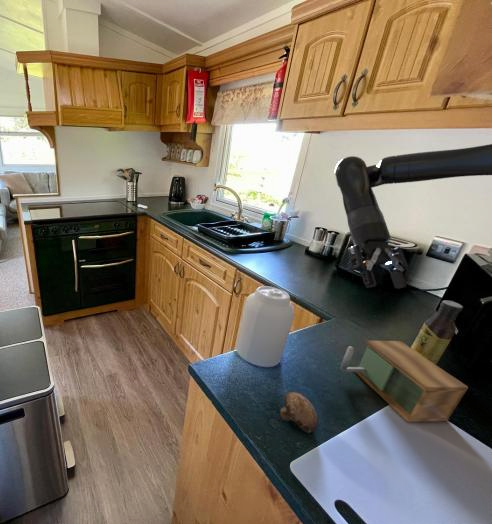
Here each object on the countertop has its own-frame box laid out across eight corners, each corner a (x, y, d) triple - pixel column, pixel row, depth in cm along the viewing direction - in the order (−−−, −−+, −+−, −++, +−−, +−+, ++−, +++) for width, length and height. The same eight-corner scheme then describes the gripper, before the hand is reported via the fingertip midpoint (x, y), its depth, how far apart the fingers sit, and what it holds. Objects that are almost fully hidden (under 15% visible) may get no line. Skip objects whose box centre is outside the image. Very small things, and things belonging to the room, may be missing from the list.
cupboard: (407, 421, 64) (426, 387, 61) (353, 370, 79) (366, 340, 76) (447, 421, 65) (468, 387, 62) (386, 370, 80) (401, 341, 76)
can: (258, 337, 91) (272, 279, 84) (290, 363, 80) (310, 299, 73) (226, 344, 86) (238, 284, 79) (255, 373, 75) (273, 306, 68)
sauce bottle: (404, 351, 89) (432, 294, 82) (431, 359, 86) (462, 301, 79) (409, 363, 84) (440, 304, 77) (438, 372, 81) (472, 311, 74)
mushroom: (268, 404, 62) (293, 390, 59) (278, 397, 68) (301, 384, 65) (294, 444, 58) (322, 431, 55) (302, 432, 64) (327, 420, 61)
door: (356, 390, 70) (368, 363, 67) (334, 368, 77) (344, 342, 74) (383, 390, 71) (396, 363, 68) (359, 368, 78) (370, 343, 75)
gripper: (356, 218, 70) (376, 282, 65) (404, 222, 73) (427, 284, 68) (332, 231, 77) (348, 290, 72) (376, 234, 80) (395, 291, 75)
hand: (386, 287), depth 70 cm, fingers open, 8 cm apart
